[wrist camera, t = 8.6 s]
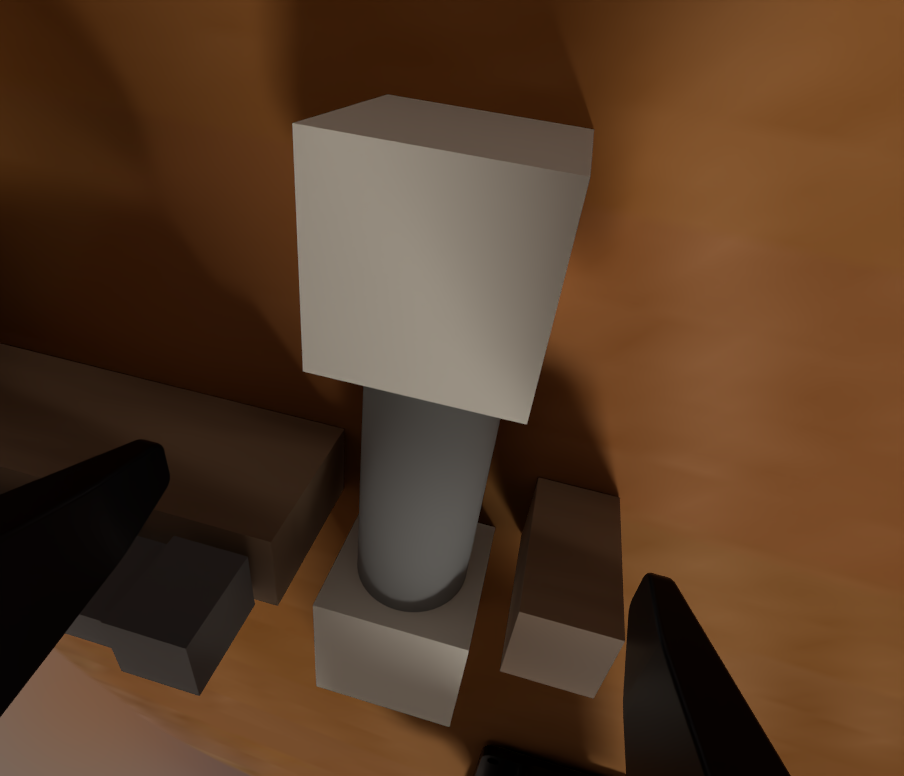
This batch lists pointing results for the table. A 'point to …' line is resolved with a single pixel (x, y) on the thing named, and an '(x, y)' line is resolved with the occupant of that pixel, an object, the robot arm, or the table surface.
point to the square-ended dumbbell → (426, 360)
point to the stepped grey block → (170, 610)
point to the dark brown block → (306, 501)
